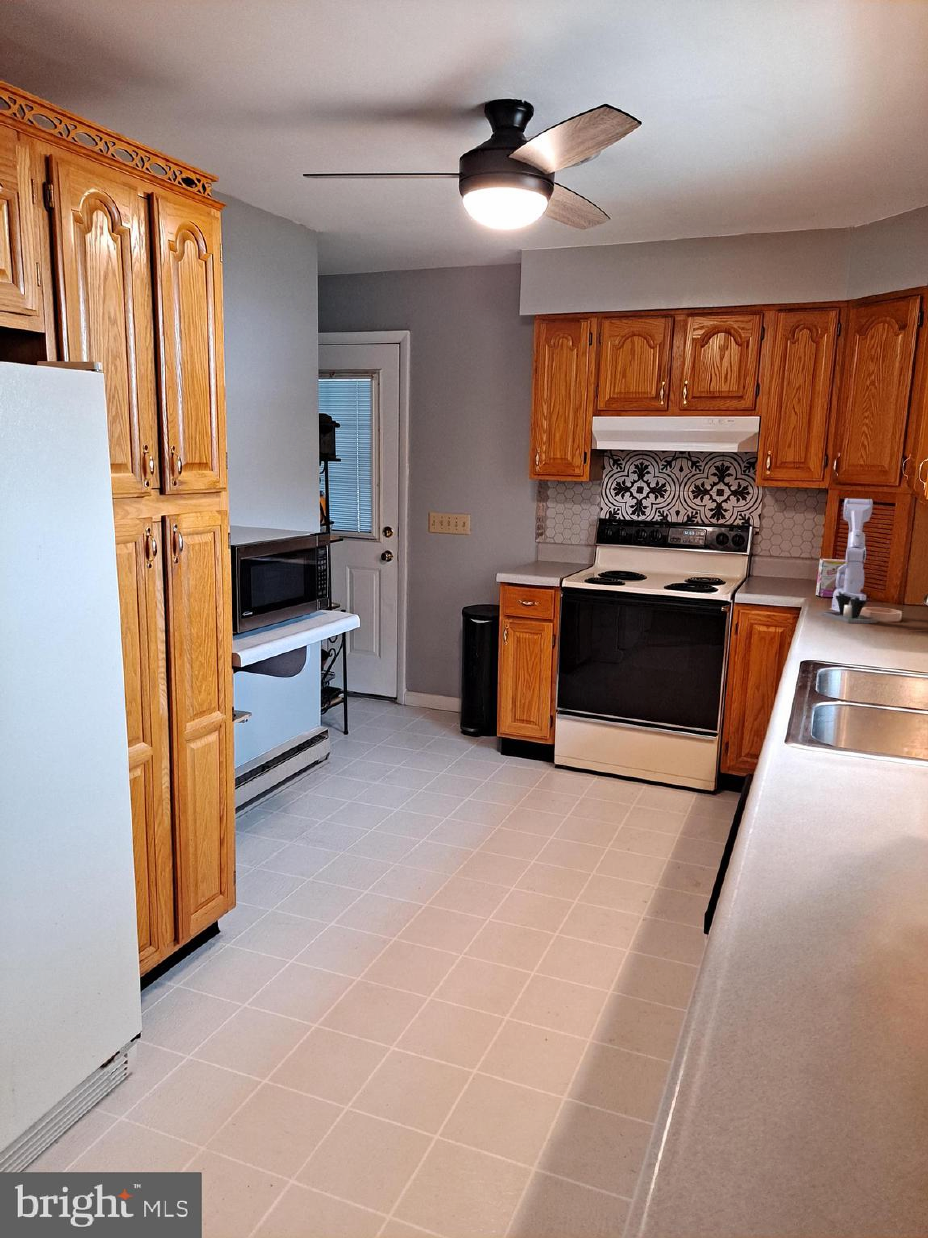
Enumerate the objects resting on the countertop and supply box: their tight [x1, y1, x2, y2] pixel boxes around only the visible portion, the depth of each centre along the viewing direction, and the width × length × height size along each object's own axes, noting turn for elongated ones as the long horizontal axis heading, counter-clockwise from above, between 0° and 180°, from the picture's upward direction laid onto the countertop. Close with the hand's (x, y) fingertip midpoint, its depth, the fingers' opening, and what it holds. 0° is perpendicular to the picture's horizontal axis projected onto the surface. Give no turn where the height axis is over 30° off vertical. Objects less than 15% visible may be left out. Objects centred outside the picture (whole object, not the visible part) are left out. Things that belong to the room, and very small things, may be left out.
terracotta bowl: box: [860, 606, 903, 622], centre depth 332 cm, size 13×13×4 cm
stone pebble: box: [843, 605, 855, 619], centre depth 328 cm, size 4×4×5 cm
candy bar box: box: [815, 558, 846, 598], centre depth 382 cm, size 11×5×16 cm, turn 84°
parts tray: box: [821, 611, 878, 624], centre depth 329 cm, size 16×12×2 cm
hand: (849, 616), depth 329 cm, fingers open, 7 cm apart
